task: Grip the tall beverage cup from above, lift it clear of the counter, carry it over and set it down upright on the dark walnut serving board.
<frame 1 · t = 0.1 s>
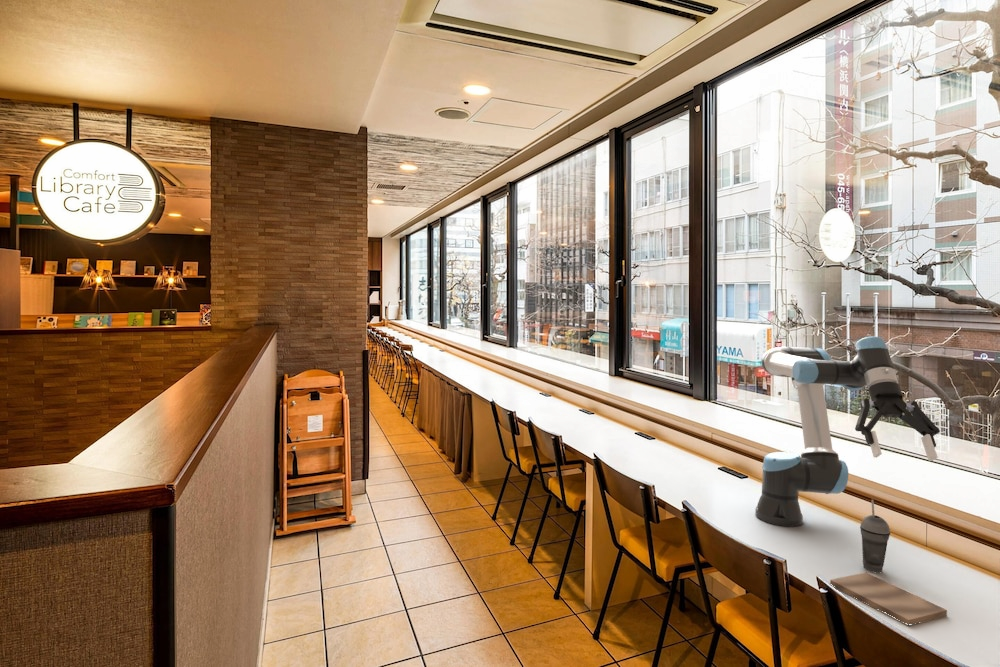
hand: (905, 457, 144), 36 cm above the counter, tool tilted 35°, fingers open, 13 cm apart
beverage cup: (872, 569, 157), on the counter
serving board: (885, 599, 139), on the counter
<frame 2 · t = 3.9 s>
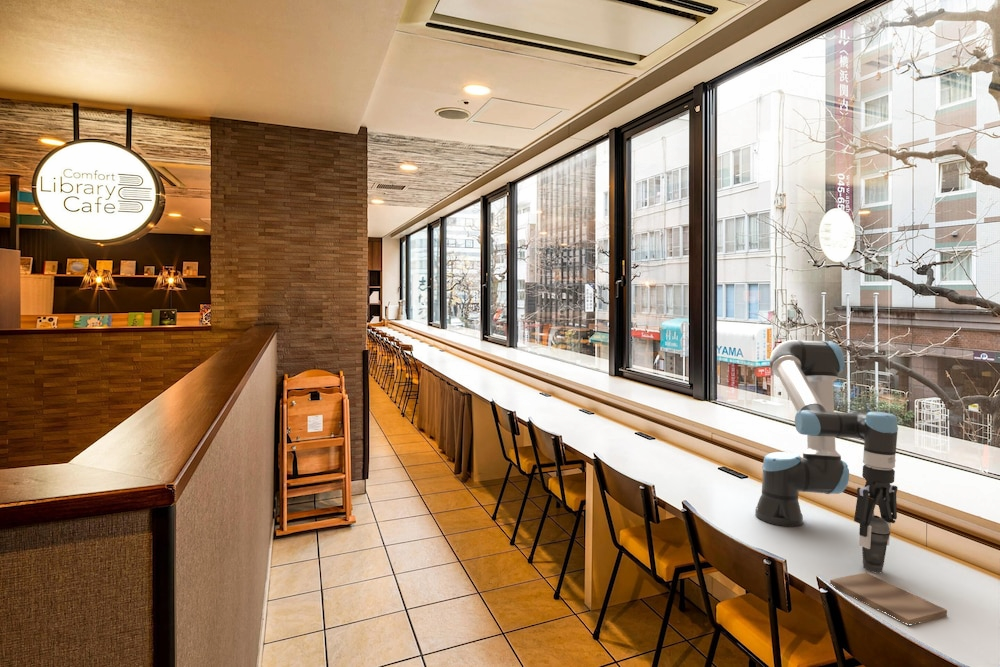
hand: (874, 545, 156), 7 cm above the counter, tool pointing down, fingers closed on beverage cup, 7 cm apart
beverage cup: (872, 569, 157), on the counter, touching gripper
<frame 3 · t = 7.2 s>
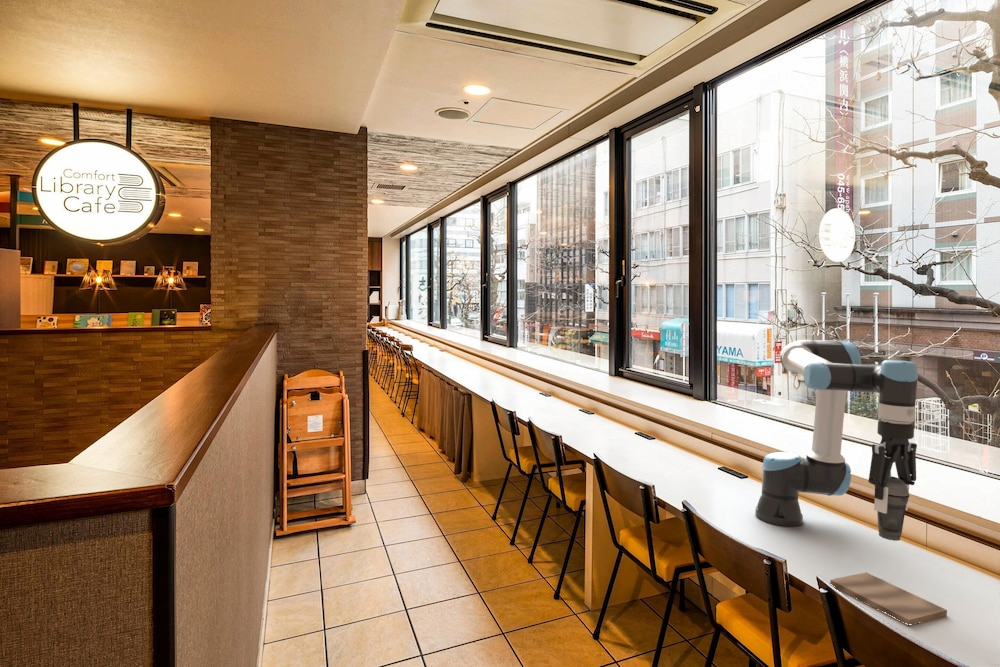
hand: (890, 509, 139), 23 cm above the counter, tool pointing down, fingers closed on beverage cup, 7 cm apart
beverage cup: (889, 537, 139), point 16 cm above the counter, touching gripper
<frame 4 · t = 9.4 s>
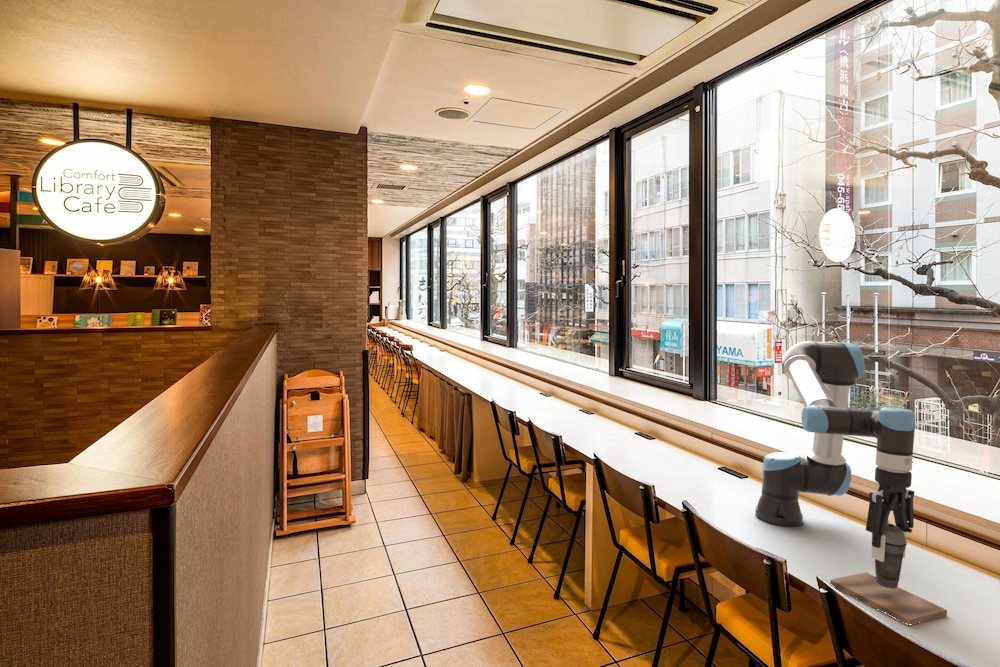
hand: (888, 557, 139), 11 cm above the counter, tool pointing down, fingers closed on beverage cup, 7 cm apart
beverage cup: (886, 584, 139), point 4 cm above the counter, touching gripper
when the fingers open (10 cm above the counter, at t = 10.5 s): beverage cup drops 1 cm, resting on serving board.
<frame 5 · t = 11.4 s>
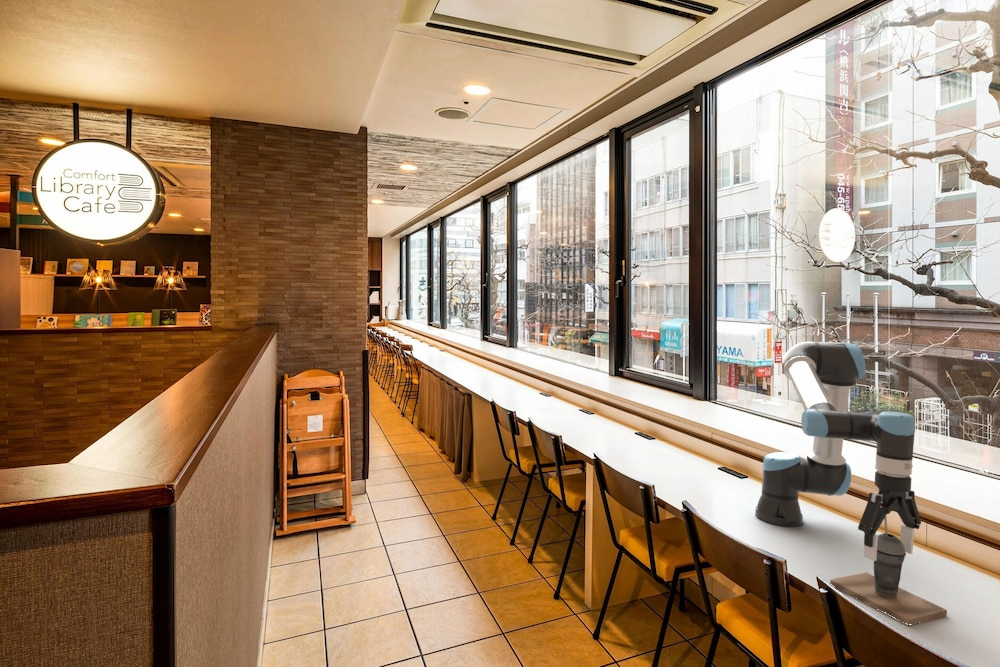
hand: (888, 555, 139), 12 cm above the counter, tool pointing down, fingers open, 13 cm apart
beverage cup: (885, 594, 139), point 1 cm above the counter, touching serving board
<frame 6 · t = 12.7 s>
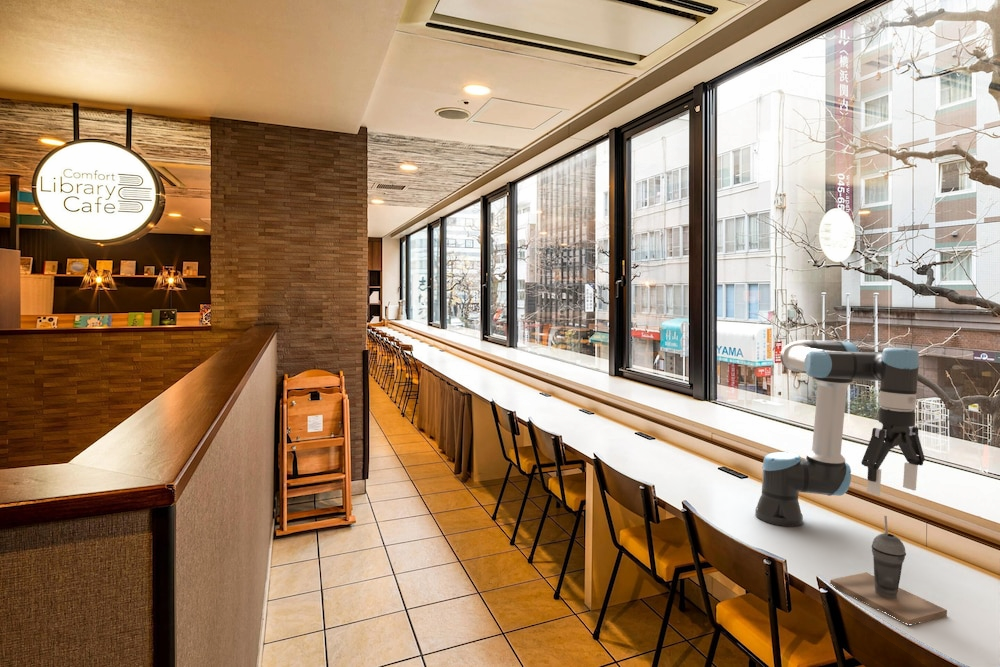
hand: (891, 491, 139), 28 cm above the counter, tool pointing down, fingers open, 13 cm apart
nothing on the counter moved.
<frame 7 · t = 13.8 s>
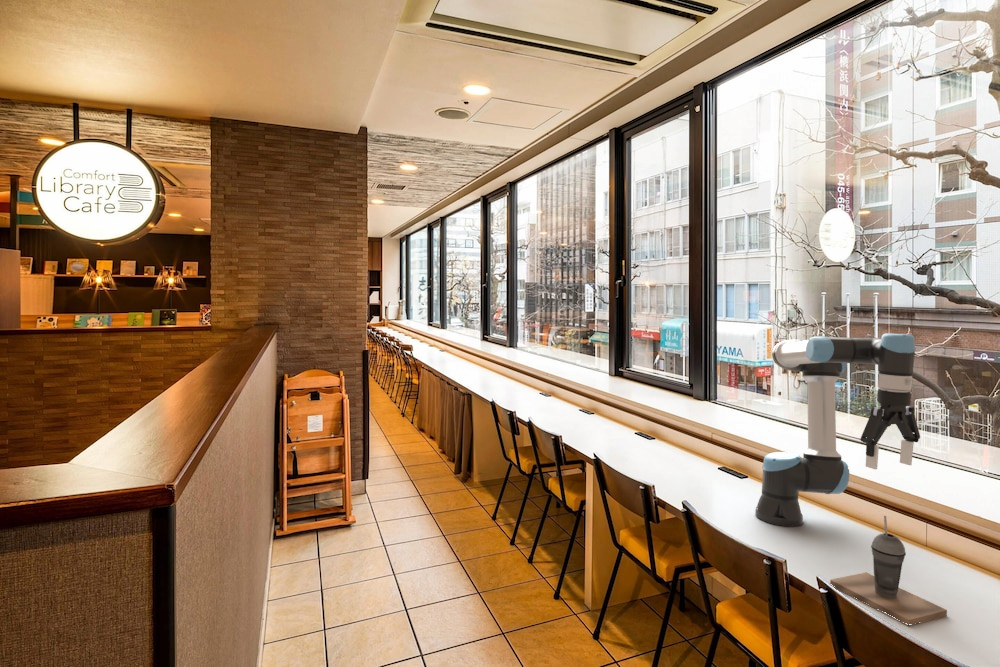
hand: (888, 466, 150), 32 cm above the counter, tool pointing down, fingers open, 13 cm apart
nothing on the counter moved.
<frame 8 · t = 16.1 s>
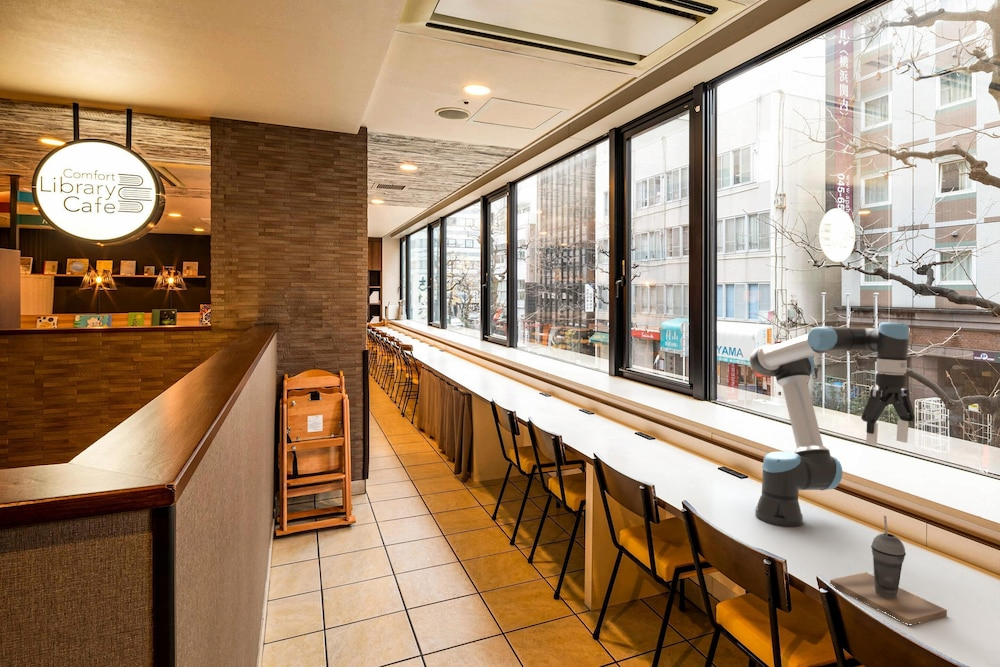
hand: (886, 442, 165), 35 cm above the counter, tool pointing down, fingers open, 13 cm apart
nothing on the counter moved.
at the end: beverage cup inside the target area on the serving board (0.0 cm from its centre), point 1.3 cm above the serving board's base; beverage cup tilted 0°; the gripper is holding nothing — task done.
